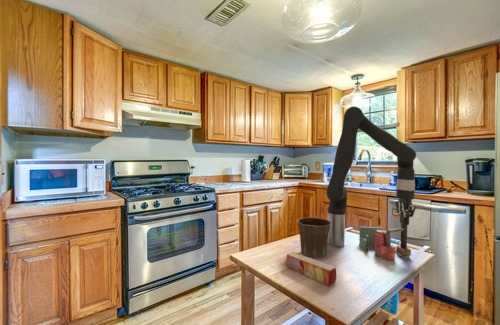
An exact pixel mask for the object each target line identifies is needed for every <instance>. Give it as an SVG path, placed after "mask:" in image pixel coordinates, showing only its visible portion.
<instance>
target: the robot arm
mask: <svg viewBox="0 0 500 325" xmlns="http://www.w3.org/2000/svg"><path fill="white" fill-rule="evenodd" d="M358 130H360V131H361V132H362V133H364V134H366V135H367V136H368V137H370V138H371V140H373V141H375V143H377V144H378V145H379V146H381V147H382V148H383V149H385V150H386V151H389V152H390V153H391V154H393V155H394V156H395V157H396V159H397V177H396V178H397V179H396V185H395V186H396V192H395V193H396V194H395V196H396V198H397V199H398V201H396V200H395V207H396V213H397V214H398V215H399V223H400V224H401V213H402V211H403V212H404V222H403V224H404V225H407V226H409V225H410V218H413V217H414V214H415V211H416V209H417V207H416V206H414V205H413V201H412V200H414V199H415V197H416V194H415V193H416V182H415V178H416V177H415V168H414V161H415V160H416V158H417V153H416V151H415V149H413V148H412V147H411V146H409V145H407V143H404V142H402V141H400V140H399V139H398V138H396V137H395V136H394V135H392V134H391V133H390V132H388V131H386V130H385V129H383V128H382V127H380V126H379V125H376V124H375V123H373V121H371V120H370V119H369V118H368V117H367V116H366V115H365V114H364V113H363V110H362V109H361V108H360V107H358V106H351V107H348V108H347V109H346V110H345V112H344V114H343V122H342V130H341V134H340V137H339V140H338V144H337V147H336V152H335V156H334V161H333V165H332V166H333V167H332V172H331V176H330V179H329V182H328V185H327V188H326V192H325V193H326V198H327V199H328V200H329V204H328V206H327V219H326V220H328V221H330V222H331V225H330V229H329V233H328V242H327V246H333V247H344V246H345V238H346V237H345V236H346V232H345V231H346V230H345V229H346V209H347V203H348V202H347V201H348V190H347V188H346V187H345V181H346V178H347V175H348V173H349V172H350V169H351V167H352V165H353V163H354V158H355V153H356V146H357V133H358ZM406 212H407V213H406Z"/></svg>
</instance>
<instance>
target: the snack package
mask: <svg viewBox="0 0 500 325" xmlns="http://www.w3.org/2000/svg"><path fill="white" fill-rule="evenodd" d="M285 267H287V268H290V269H292V270H294V271H295V272H298V273H300V274H302V275H304V276H306V277H307V278H308V277H309V278H311V279H313V280H315V281H317V282H320V284H324V285H325V286H327V287H330V286H332V285H333V284H335V282H336V281H337V268H336V267H335V266H334V265H330V264H328V263H325V262H323V261H319V260H317V259H313V258H311V257H307V256H305V255H303V254H299V253H297V252H295V251H291V252H288V253H287V254H286V256H285Z"/></svg>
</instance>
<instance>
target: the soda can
mask: <svg viewBox="0 0 500 325" xmlns="http://www.w3.org/2000/svg"><path fill="white" fill-rule="evenodd" d="M387 230H388V229H383V230H381V229H378V230H376V233H375V240H374V246H373V247H374V248H373V250H374V254H375V255H376V256H377V257H380V245H386V231H387ZM391 245H392V236H391V234H390V246H391Z"/></svg>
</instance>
